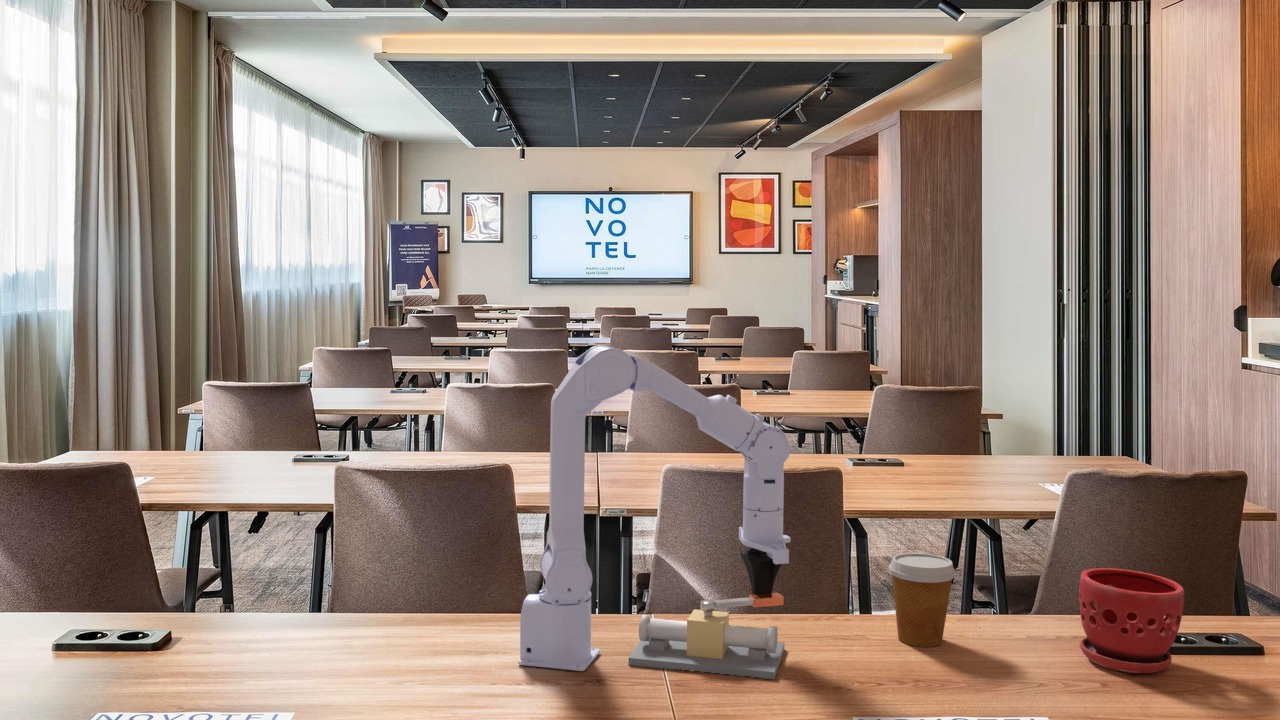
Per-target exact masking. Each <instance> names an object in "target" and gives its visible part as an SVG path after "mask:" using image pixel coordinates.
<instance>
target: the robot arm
mask: <svg viewBox="0 0 1280 720" xmlns="http://www.w3.org/2000/svg"><path fill="white" fill-rule="evenodd" d="M573 361H574V362H573V363H572V366H571V367H570V369H569V371H568V373H567V374H566V375H565V376H564V378H563V380H562V381H561V383H560V384H559V386H558V387H557V389H556V390H555V391H554V393H553V395H552V397H551V402H550V429H549V430H550V437H549V439H550V442H549V443H550V445H549V447H550V448H549V456H550V457H549V506H548V507H549V513H548V514H549V515H548V516H549V517H548V518H549V522H548V524H549V525H548V529H547V533H546V545H545V548H544V550H543V551H542V554H541V556H540V558H539V559H540V560H539V569H540V572H541V575H542V576H543V578H544V580H545V583H544V585H543V586H542V587H541V589H540V590H539V591H538V592H539V593H530V594H527V595H526V597H525V598H524V600H523V603H522V607H521V612H520V620H519V621H520V623H519V625H520V628H519V629H520V630H519V631H520V632H519V634H520V635H519V636H520V639H519V640H520V641H519V642H520V644H519V645H520V650H519V651H520V652H519V654H520V656H519V660H518V661H517V663H518V665H519V666H527V667H529V666H530V667H539V668H545V669H546V668H548V669H558V670H565V671H566V670H568V671H577V672H585V670H587V668H588V667H589V666H590V665H591V663H593V661H594V660H595V659H596V657H597V656H598V655H599V654H600V653H601V649H600V648H596V647H595V648H594V647H592V645H591V644H592V592H591V588H592V584H593V572H592V570H591V567H590V565H589V564H588V562H587V556H586V555H587V551H586V550H587V548H586V540H585V538H586V537H585V531H584V527H585V525H584V524H585V520H584V519H585V518H584V517H585V467H586V466H585V460H586V458H585V456H586V455H585V452H586V417H587V415H589V414H590V413H591V412H592V411H594V410H595V409H596V408H597V407H598V406H599V405H600V404H602V402H603V401H606V400H609V399H611V398H614V397H616V396H618V395H620V394H622V393H624V392H625V391H627V390H628V389H629V390H631V391H633V392H648V391H650V392H652V393H654V394H655V395H657V396H659V397H661V398H663V399H665V400H666V401H668V402H669V403H672V404H673V405H676V406H677V407H679V408H681V409H682V410H683V411H686V412H688V413H690V414H692V415H693V416H694V417H695V418H696V422H697V427H698V429H699V430H700V431H701V432H704V433H705V434H707V435H708V436H710V437H712V438H714V439H715V440H717V441H719V442H720V443H721V444H724V445H725V446H726V447H728V448H731V449H732V450H734V451H736V452H740V454H741V455H742V456H743V457H744V460H743V461H744V462H743V463H744V465H743V466H744V468H743V470H744V471H743V473H744V474H743V489H742V490H743V493H742V494H743V496H742V497H743V502H742V503H743V507H742V526H739V527H738V540H739V541H740V543H741V544H742V545H743V546H746V547H749V550H747V549H746V550H741V551H740V552H739V554H740V556H741V559H742V561H743V563H744V565H745V568H746V571H747V574H748V578H749V583H750V587H751V592H752V595H755V594H767V593H773V589H774V588H773V587H774V585H775V581H776V578H777V575H778V573H779V571H780V569H781V567H782V565H783V564H784V565H785V564H787V565H788V564H790V550H789V548H787V546H786V544H788V543H791V537H790V536H789V535H786V534H784V502H785V499H784V496H785V495H784V494H785V490H784V489H785V488H784V487H785V476H784V474H785V473H784V472H785V471H784V470H785V469H784V468H785V467H784V466H785V465H784V464H785V462H786V461H787V460H788V459H789V457H790V454H791V451H792V446H791V445H790V444H789V440H788V437H787V436H786V433H785V432H784V431H783V430H781V429H780V428H778V427H776V426H773V425H772V424H769V423H767V422H766V421H764V420H765V417H764V415H762V414H760V413H755V414H754V413H752V412H750V411H749V410H747V409H745V408H743V407H742V406H740V405H738V404H736V403H738V399H737V398H736V397H733V396H731V395H730V394H726V397H725V396H723V395H722V394H716V395H711V396H705V395H704V394H702V393H701V392H699V391H697V390H696V389H694V388H693V387H692V386H690V385H688V384H686V383H685V382H683V381H682V380H680V379H679V378H677V377H676V376H674V375H672V374H671V373H670V372H668V371H666V370H664V369H663V368H661V367H660V366H658V365H656V364H654V363H653V362H650V361H647V360H645V359H643V358H641V357H638V356H634V355H633V354H629V353H627V352H625V351H624V350H623V349H620V348H616V347H613V346H611V345H608V344H598V345H594V346H592V347H590V348H588V349H587V350H586V351H585V352H583V353H582V354H580V355H579V356H578V357H576V358H575V359H574V360H573Z"/></svg>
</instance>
